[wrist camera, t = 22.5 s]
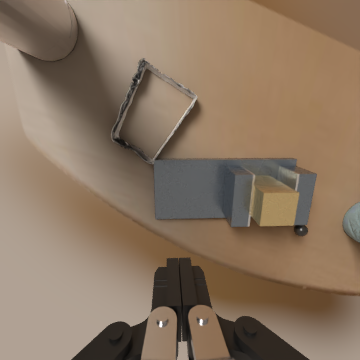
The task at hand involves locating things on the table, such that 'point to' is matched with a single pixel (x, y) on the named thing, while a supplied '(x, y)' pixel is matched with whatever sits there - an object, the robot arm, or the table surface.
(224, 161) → the vise base
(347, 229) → the blue embossed cup
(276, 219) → the brass block
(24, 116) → the table surface
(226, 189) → the sliding jaw
